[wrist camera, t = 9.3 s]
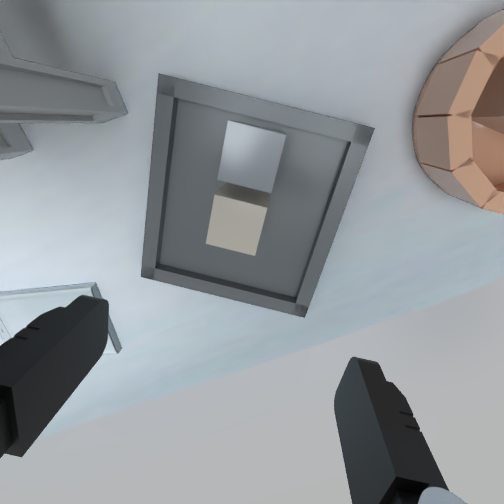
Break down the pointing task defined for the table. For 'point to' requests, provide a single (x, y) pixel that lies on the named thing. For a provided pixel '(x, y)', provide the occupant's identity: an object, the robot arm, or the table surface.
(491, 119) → the pale grey cuboid
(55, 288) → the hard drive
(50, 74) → the stool
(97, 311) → the robot arm
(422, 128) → the bowl
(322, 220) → the tray
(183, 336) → the table surface
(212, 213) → the off-white cubic block
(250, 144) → the light gray block
